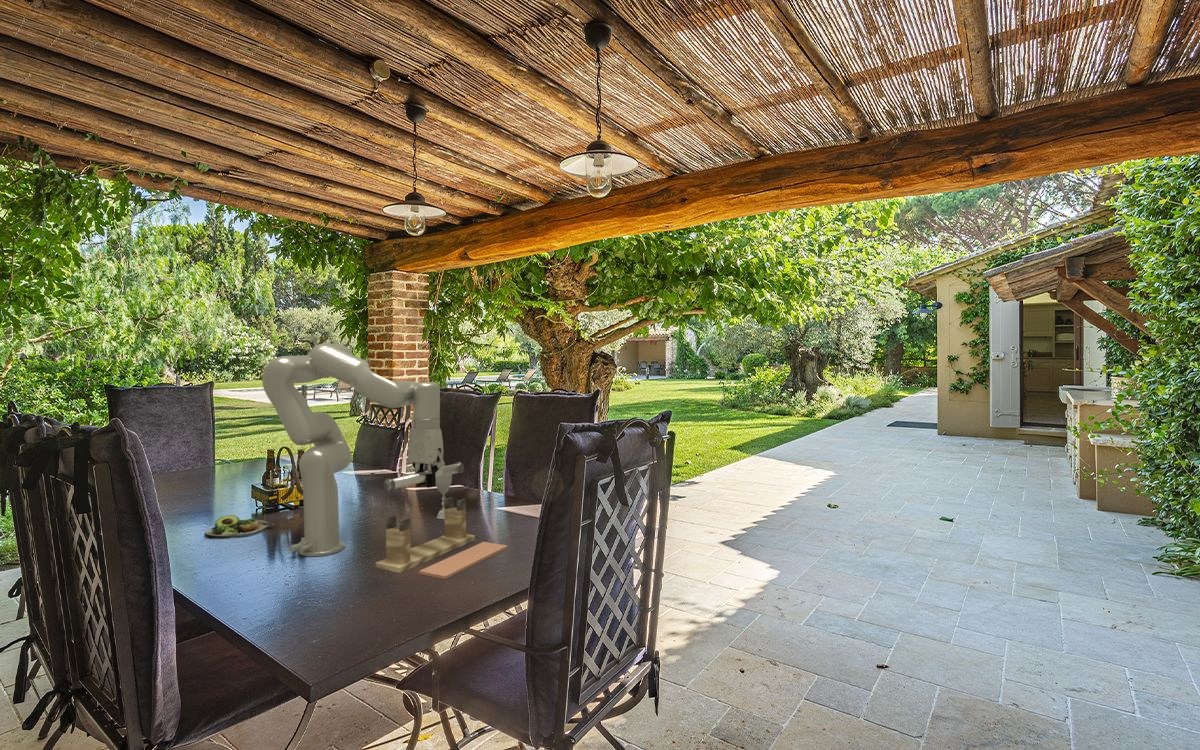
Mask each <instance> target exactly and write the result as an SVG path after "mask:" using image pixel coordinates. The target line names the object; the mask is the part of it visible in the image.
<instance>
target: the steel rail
mask: <svg viewBox="0 0 1200 750" xmlns="http://www.w3.org/2000/svg"><path fill="white" fill-rule="evenodd" d="M464 471H465V466H464V464H463V463H462V462H461V461H457V462H455V463H454V464H453V463H452V464H448V465H444V467H440V468H439V470H438V472H437V473H436V479H437V478H441V477H445V476H448V475H452V476H453V475H455V474H456V475H458V474H459V475H460V474H462V473H463V472H464ZM427 474H429V473H428V469H426V470H424V471H423V472H419V473H417V472H415V473H411V474H408V475H404V476H399V477H395V478H386V479H384V480H383V483H382V489H383V490H384V492H386V493H391V492H394V491H395V490H399V489H402V488H406V487H410V486H413V485H417V484H418V483H422V482H425V481H426V478H427V476H426V475H427Z"/></svg>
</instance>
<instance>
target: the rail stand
mask: <svg viewBox="0 0 1200 750" xmlns="http://www.w3.org/2000/svg"><path fill="white" fill-rule="evenodd" d="M466 503H467V502H466V498H462V499H459V500H457V501H456V507H455V506H454V497H452V496H450V497H448V498H446V499H444V519H443V520H444V535H443V534H442V535H441V536H439V537H437V538H434V539H431V540H429V541H426V542H424V543H421V544H419V545H417V546H414V547H411V518H410V517H405V518H402V519H400V520H398V522H397V515H391V516H388V517H386V518H385V554H386V558H384V559H381V560H379V561H376V562H375V569H379V570H383V571H388V572H390V573H391V572H392V573H395V574H401V573H403V572H404V573H405V572H406V571H408V570H411V569H412V568H415V567H417V566H420V565H422V564H424V563H426V562H429V561H432V560H433V559H435V558H438V557H440V556H442V555H444V554H447V553H450V552H451V551H453V550H456V549H458V548H460V547H463V546H465V545H468V544H469V543H471V542H474V541H476V536H475V535H473V534H467V523H466V522H467V516H466V515H467V513H466V511H467V510H466V508H467V507H466V506H467V505H466ZM397 523H398V526H397Z"/></svg>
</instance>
